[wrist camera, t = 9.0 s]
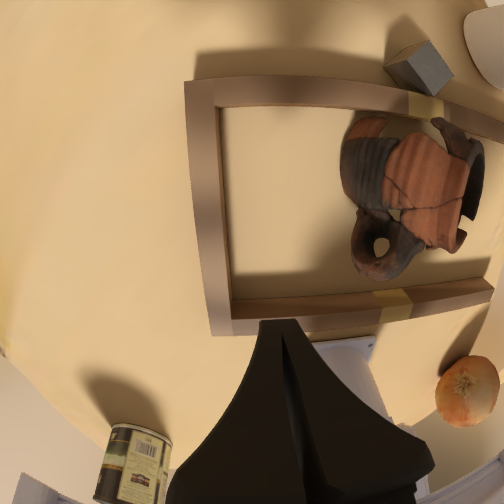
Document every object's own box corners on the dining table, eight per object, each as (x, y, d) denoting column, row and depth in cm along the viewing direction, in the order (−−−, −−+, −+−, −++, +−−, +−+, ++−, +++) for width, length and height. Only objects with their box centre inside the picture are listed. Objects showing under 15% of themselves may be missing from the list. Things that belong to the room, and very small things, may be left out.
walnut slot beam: (477, 289, 22) (489, 301, 20) (214, 316, 22) (211, 336, 20) (508, 129, 15) (525, 133, 12) (192, 87, 15) (184, 81, 12)
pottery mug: (367, 79, 15) (481, 94, 9) (410, 155, 21) (490, 182, 15) (283, 227, 16) (401, 300, 10) (351, 269, 22) (430, 320, 16)
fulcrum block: (427, 78, 14) (453, 75, 11) (408, 97, 15) (433, 96, 12) (404, 48, 13) (428, 40, 10) (383, 67, 14) (406, 59, 11)
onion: (465, 332, 25) (504, 388, 16) (486, 349, 27) (516, 394, 18) (413, 384, 29) (440, 443, 20) (442, 392, 31) (465, 439, 22)
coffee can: (120, 442, 36) (104, 506, 23) (105, 416, 31) (81, 493, 18) (176, 454, 36) (167, 523, 24) (170, 431, 32) (157, 516, 19)
